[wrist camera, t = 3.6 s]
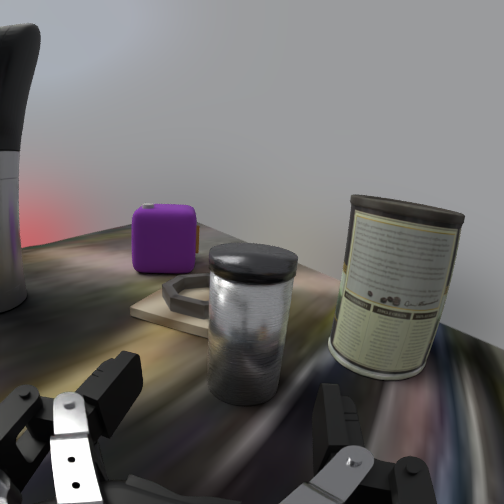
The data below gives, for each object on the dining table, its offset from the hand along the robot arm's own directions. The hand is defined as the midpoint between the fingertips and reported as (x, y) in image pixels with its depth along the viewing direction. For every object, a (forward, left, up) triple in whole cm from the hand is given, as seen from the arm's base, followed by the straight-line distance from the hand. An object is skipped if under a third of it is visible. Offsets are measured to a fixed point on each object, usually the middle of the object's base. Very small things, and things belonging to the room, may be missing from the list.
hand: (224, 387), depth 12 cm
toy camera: (-22, +31, -6) cm, 39 cm away
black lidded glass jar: (-1, +8, -6) cm, 10 cm away
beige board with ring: (-9, +19, -6) cm, 22 cm away
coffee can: (+10, +16, -6) cm, 20 cm away
